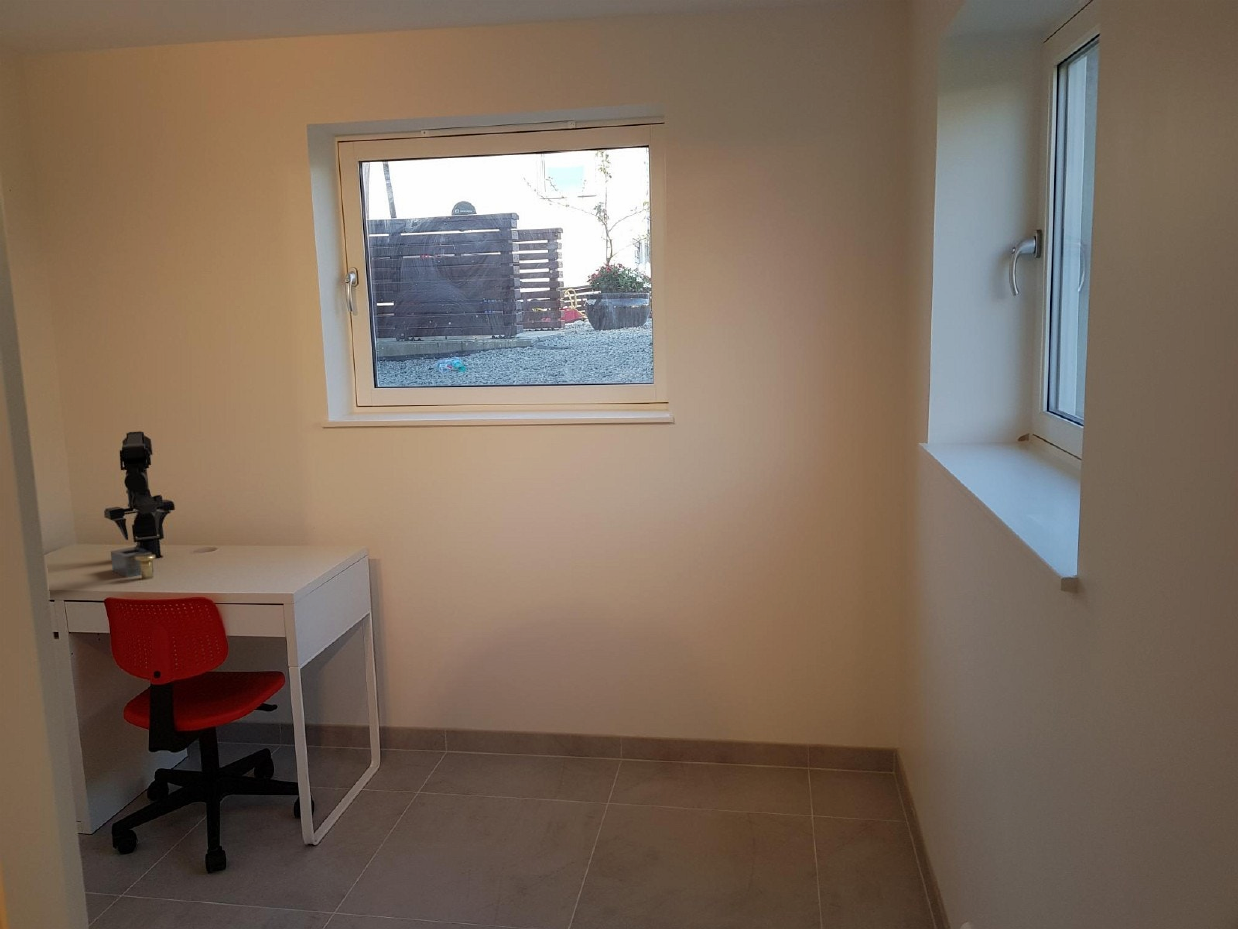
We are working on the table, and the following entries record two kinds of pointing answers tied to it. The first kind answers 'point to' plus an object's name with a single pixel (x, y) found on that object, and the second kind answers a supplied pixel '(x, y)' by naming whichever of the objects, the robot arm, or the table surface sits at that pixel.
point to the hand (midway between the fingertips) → (142, 537)
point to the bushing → (146, 565)
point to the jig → (127, 561)
